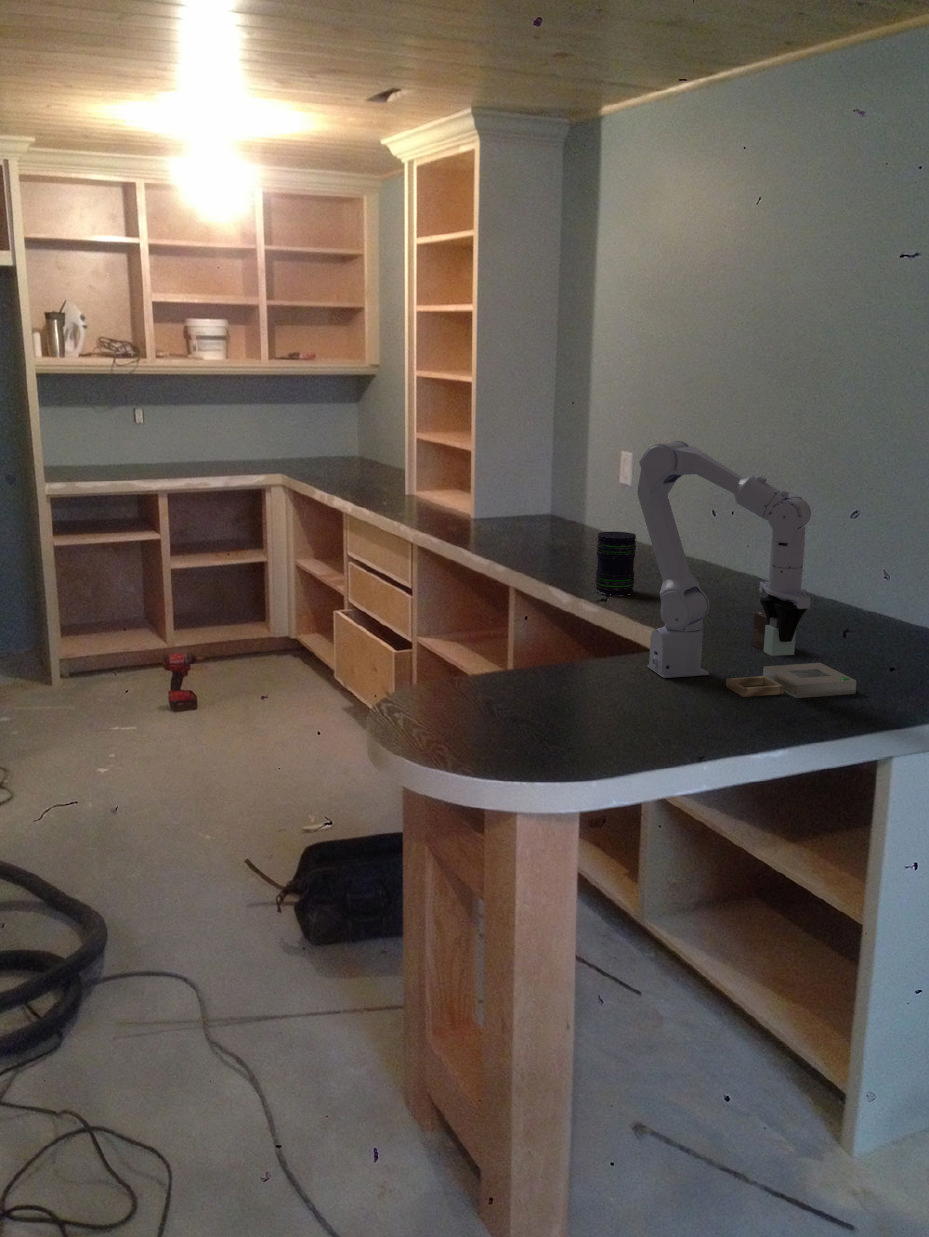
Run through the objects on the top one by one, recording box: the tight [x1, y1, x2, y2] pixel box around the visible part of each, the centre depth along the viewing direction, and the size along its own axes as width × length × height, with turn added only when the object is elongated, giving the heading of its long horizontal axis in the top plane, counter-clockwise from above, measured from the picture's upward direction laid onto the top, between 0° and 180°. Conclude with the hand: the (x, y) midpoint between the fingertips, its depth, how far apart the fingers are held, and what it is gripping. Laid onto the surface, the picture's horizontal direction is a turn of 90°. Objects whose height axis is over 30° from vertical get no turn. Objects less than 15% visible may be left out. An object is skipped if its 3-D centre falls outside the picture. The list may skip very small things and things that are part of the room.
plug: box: [763, 617, 797, 657], centre depth 201 cm, size 4×3×6 cm, turn 103°
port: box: [762, 662, 857, 699], centre depth 205 cm, size 12×12×3 cm
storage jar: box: [595, 531, 637, 595], centre depth 281 cm, size 10×10×15 cm
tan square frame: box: [725, 675, 785, 698], centre depth 202 cm, size 8×7×2 cm
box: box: [751, 611, 768, 652], centre depth 231 cm, size 6×6×7 cm
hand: (780, 638), depth 201 cm, fingers closed on plug, 3 cm apart
